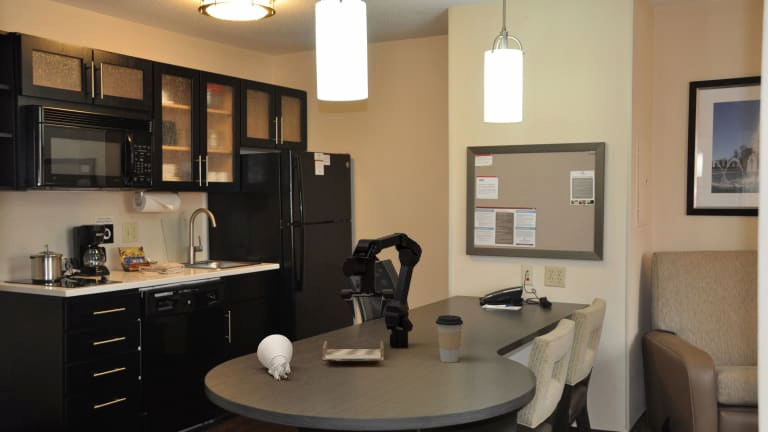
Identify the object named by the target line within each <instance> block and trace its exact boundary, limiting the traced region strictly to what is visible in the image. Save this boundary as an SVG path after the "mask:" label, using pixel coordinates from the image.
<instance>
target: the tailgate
mask: <svg viewBox="0 0 768 432" xmlns="http://www.w3.org/2000/svg"><path fill="white" fill-rule="evenodd" d="M379 358H380V355H325V359H341V360H340V361H366V360H365V359H379Z"/></svg>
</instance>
